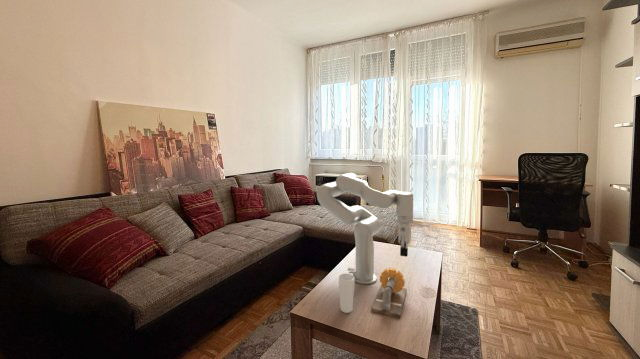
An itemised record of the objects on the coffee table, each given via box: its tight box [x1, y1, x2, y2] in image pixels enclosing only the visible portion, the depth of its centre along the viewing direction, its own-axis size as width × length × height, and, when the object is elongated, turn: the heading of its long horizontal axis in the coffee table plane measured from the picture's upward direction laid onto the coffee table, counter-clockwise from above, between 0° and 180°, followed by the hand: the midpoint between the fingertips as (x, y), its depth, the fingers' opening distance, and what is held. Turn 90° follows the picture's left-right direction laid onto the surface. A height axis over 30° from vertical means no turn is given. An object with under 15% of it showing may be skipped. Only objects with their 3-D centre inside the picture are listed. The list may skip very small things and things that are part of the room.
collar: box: [379, 267, 406, 293], centre depth 129 cm, size 11×2×11 cm, turn 66°
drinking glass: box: [338, 273, 356, 314], centre depth 119 cm, size 7×7×15 cm
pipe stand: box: [370, 277, 407, 319], centre depth 125 cm, size 12×22×9 cm, turn 156°
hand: (403, 255), depth 133 cm, fingers closed
